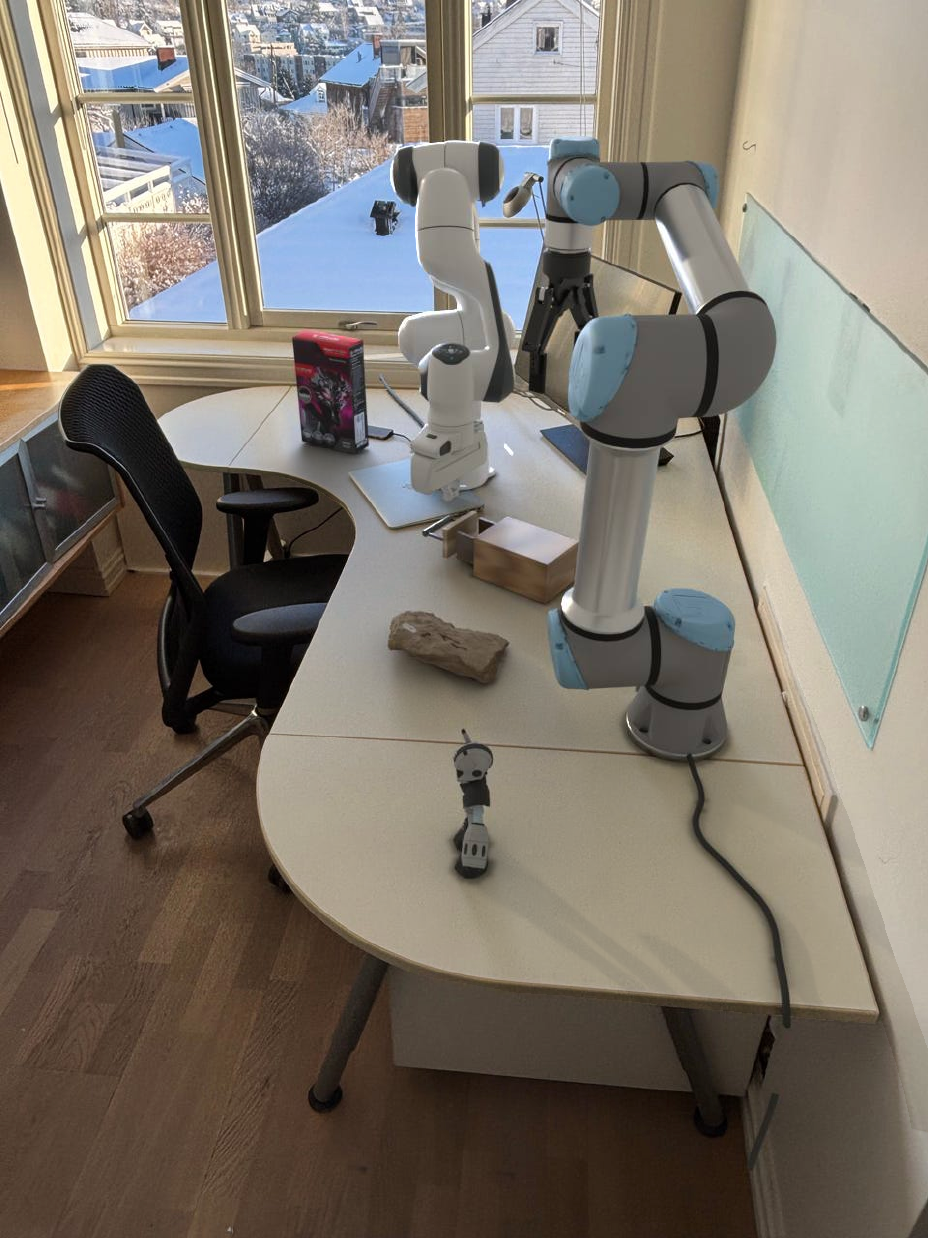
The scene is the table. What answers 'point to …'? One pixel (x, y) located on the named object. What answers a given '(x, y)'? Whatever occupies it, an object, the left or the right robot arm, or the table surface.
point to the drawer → (459, 535)
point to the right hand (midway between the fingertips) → (558, 380)
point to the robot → (473, 807)
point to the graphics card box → (331, 390)
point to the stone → (447, 645)
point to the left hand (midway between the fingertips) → (450, 498)
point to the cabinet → (525, 559)
